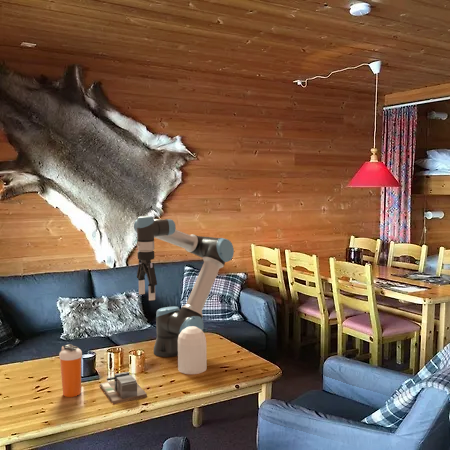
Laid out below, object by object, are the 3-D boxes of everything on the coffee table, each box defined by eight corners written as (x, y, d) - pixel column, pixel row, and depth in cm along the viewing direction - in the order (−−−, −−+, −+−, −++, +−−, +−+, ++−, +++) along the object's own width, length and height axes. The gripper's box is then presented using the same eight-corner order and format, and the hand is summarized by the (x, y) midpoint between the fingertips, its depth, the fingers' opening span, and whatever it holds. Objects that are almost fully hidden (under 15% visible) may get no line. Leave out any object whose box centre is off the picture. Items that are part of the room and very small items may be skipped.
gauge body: (99, 386, 216) (99, 369, 215) (131, 379, 223) (131, 364, 222) (112, 404, 198) (112, 386, 198) (146, 396, 205) (146, 379, 204)
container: (172, 368, 236) (171, 326, 234) (194, 361, 245) (194, 321, 243) (189, 376, 226) (188, 332, 224) (212, 369, 235) (212, 327, 233)
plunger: (106, 389, 208) (106, 375, 208) (128, 385, 213) (128, 371, 212) (113, 398, 200) (112, 383, 200) (135, 393, 205) (135, 379, 204)
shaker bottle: (70, 400, 202) (69, 351, 201) (55, 395, 207) (54, 347, 205) (87, 392, 210) (86, 345, 208) (73, 387, 215) (71, 341, 213)
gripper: (129, 248, 237) (130, 292, 239) (147, 254, 215) (148, 303, 217) (144, 247, 241) (145, 291, 242) (163, 253, 219) (164, 301, 220)
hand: (146, 297), depth 230 cm, fingers open, 13 cm apart
